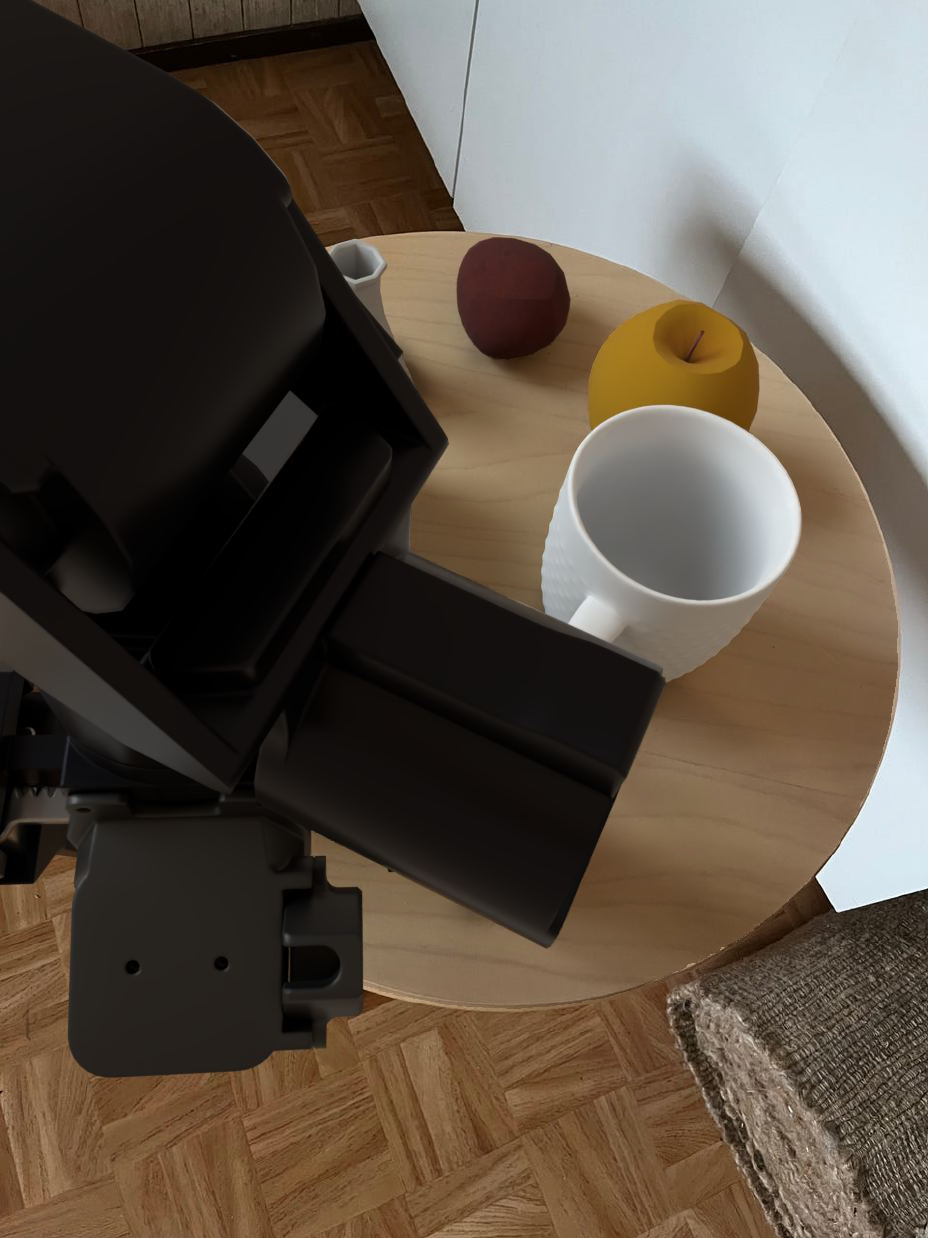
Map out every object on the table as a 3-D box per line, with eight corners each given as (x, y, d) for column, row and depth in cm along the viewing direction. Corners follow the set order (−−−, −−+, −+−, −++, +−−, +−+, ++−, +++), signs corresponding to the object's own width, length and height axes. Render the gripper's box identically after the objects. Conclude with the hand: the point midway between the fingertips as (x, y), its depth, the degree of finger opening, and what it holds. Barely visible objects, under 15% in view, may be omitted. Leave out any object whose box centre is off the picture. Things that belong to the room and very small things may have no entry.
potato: (564, 295, 69) (583, 223, 64) (557, 388, 65) (577, 320, 60) (457, 277, 68) (467, 204, 63) (443, 371, 65) (453, 300, 59)
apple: (542, 415, 64) (582, 272, 53) (680, 388, 66) (744, 247, 56) (599, 543, 60) (654, 416, 49) (743, 510, 62) (825, 382, 52)
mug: (610, 817, 52) (688, 721, 40) (438, 693, 54) (466, 569, 43) (745, 618, 58) (845, 486, 47) (587, 514, 61) (645, 364, 49)
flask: (269, 380, 63) (258, 254, 54) (353, 322, 66) (356, 194, 57) (351, 451, 61) (354, 332, 52) (434, 388, 64) (450, 265, 55)
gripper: (-390, 1054, 18) (-70, 1103, 32) (618, 1006, 20) (514, 1072, 34) (-227, 536, 24) (-12, 768, 37) (562, 538, 26) (492, 758, 39)
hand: (243, 843), depth 37 cm, fingers open, 9 cm apart
